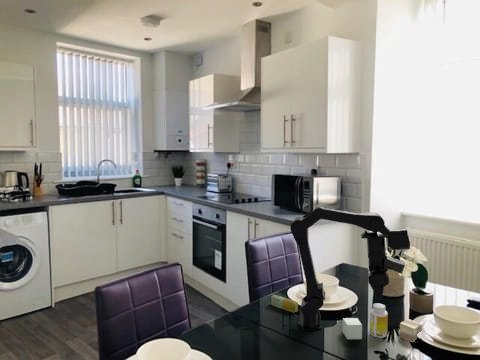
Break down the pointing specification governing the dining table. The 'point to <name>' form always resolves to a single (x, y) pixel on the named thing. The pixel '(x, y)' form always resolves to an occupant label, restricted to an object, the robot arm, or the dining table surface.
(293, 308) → the medication box
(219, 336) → the dining table surface
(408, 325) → the birch block
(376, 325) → the supplement bottle
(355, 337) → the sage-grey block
